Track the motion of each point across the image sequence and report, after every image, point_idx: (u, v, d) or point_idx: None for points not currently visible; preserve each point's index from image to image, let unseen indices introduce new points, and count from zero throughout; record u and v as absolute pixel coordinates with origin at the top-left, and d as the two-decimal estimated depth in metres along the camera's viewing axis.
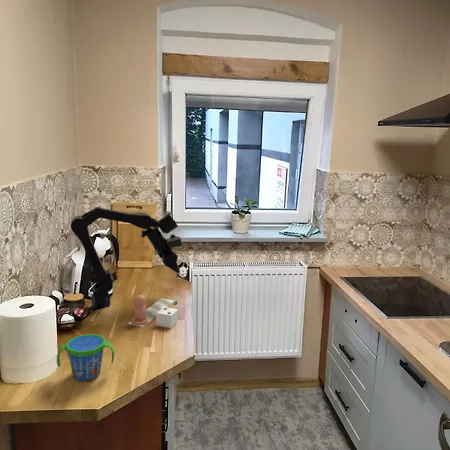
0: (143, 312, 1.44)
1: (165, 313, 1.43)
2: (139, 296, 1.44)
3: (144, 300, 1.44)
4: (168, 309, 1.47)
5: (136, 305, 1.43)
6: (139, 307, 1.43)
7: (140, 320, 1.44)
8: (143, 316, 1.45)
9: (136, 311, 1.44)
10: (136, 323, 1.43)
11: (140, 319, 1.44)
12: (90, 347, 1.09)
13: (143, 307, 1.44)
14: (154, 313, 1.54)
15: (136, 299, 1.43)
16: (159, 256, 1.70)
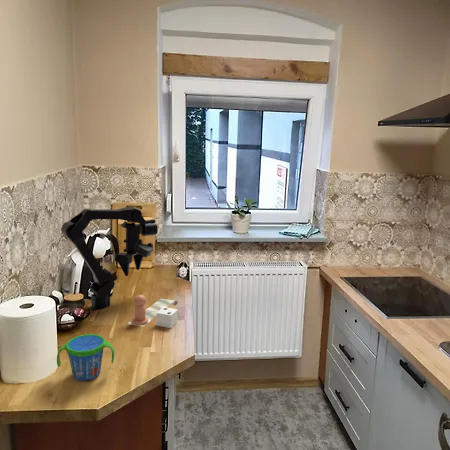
0: (143, 312, 1.44)
1: (165, 313, 1.43)
2: (139, 296, 1.44)
3: (144, 300, 1.44)
4: (168, 309, 1.47)
5: (136, 305, 1.43)
6: (139, 307, 1.43)
7: (140, 320, 1.44)
8: (143, 316, 1.45)
9: (136, 311, 1.44)
10: (136, 323, 1.43)
11: (140, 319, 1.44)
12: (90, 347, 1.09)
13: (143, 307, 1.44)
14: (154, 313, 1.54)
15: (136, 299, 1.43)
16: None
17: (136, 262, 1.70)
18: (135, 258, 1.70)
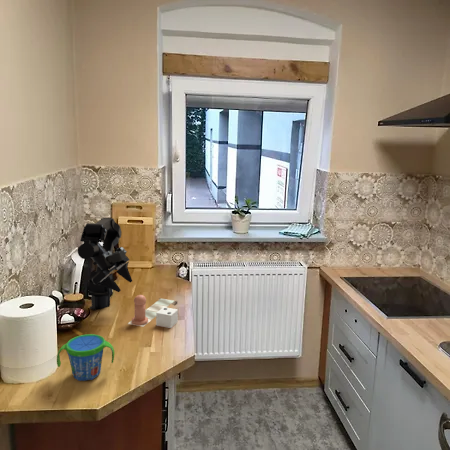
0: (143, 312, 1.44)
1: (165, 313, 1.43)
2: (139, 296, 1.44)
3: (144, 300, 1.44)
4: (168, 309, 1.47)
5: (136, 305, 1.43)
6: (139, 307, 1.43)
7: (140, 320, 1.44)
8: (143, 316, 1.45)
9: (136, 311, 1.44)
10: (136, 323, 1.43)
11: (140, 319, 1.44)
12: (90, 347, 1.09)
13: (143, 307, 1.44)
14: (154, 313, 1.54)
15: (136, 299, 1.43)
16: (117, 270, 1.55)
17: (124, 276, 1.52)
18: (121, 273, 1.53)
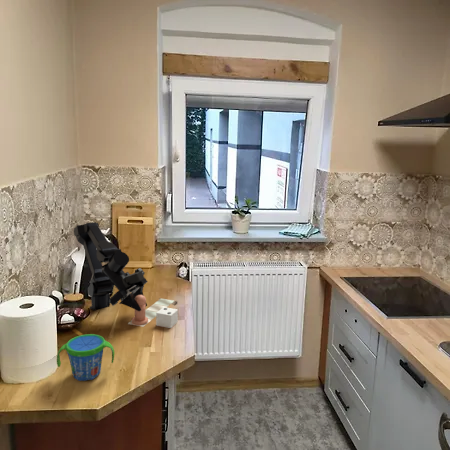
0: (143, 312, 1.44)
1: (165, 313, 1.43)
2: (139, 296, 1.44)
3: (144, 300, 1.44)
4: (168, 309, 1.47)
5: None
6: None
7: (140, 320, 1.44)
8: (143, 316, 1.45)
9: (136, 311, 1.44)
10: (136, 323, 1.43)
11: (140, 319, 1.44)
12: (90, 347, 1.09)
13: (143, 307, 1.44)
14: (154, 313, 1.54)
15: (136, 299, 1.43)
16: None
17: None
18: None
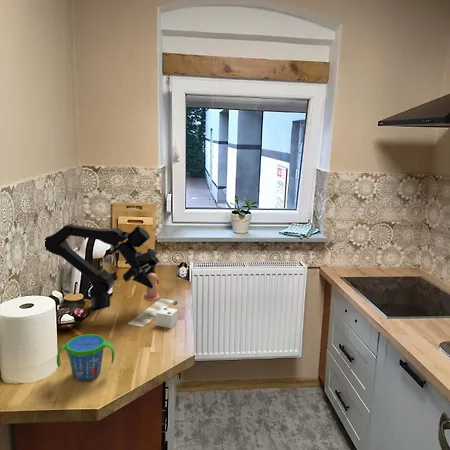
0: (155, 289, 1.52)
1: (165, 313, 1.43)
2: (151, 274, 1.51)
3: (156, 278, 1.51)
4: (168, 309, 1.47)
5: None
6: None
7: (152, 297, 1.51)
8: (154, 293, 1.52)
9: (148, 288, 1.51)
10: (148, 299, 1.51)
11: (152, 296, 1.51)
12: (90, 347, 1.09)
13: (155, 284, 1.51)
14: (154, 313, 1.54)
15: (148, 277, 1.50)
16: None
17: None
18: None
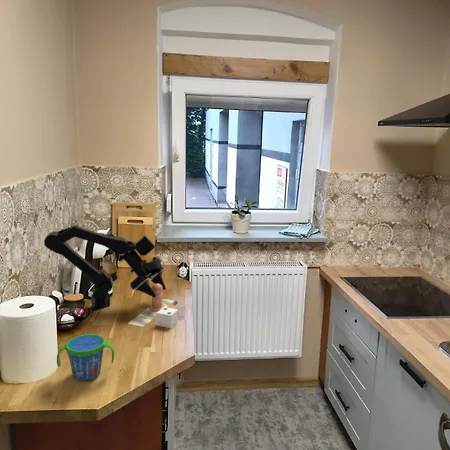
0: (160, 299, 1.57)
1: (165, 313, 1.43)
2: (156, 284, 1.57)
3: (161, 288, 1.57)
4: (168, 309, 1.47)
5: None
6: (156, 294, 1.56)
7: (157, 307, 1.57)
8: (160, 303, 1.58)
9: (153, 298, 1.57)
10: (154, 309, 1.56)
11: (157, 306, 1.57)
12: (90, 347, 1.09)
13: (160, 295, 1.57)
14: (154, 313, 1.54)
15: (154, 287, 1.56)
16: (152, 279, 1.65)
17: None
18: (156, 282, 1.63)
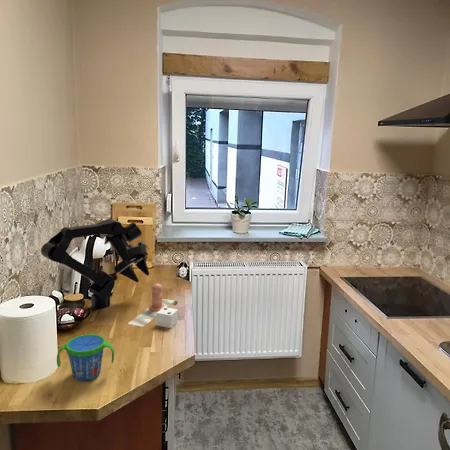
0: (160, 299, 1.57)
1: (165, 313, 1.43)
2: (156, 284, 1.57)
3: (161, 288, 1.57)
4: (168, 309, 1.47)
5: (154, 293, 1.56)
6: (156, 294, 1.56)
7: (157, 307, 1.57)
8: (160, 303, 1.58)
9: (153, 298, 1.57)
10: (154, 309, 1.56)
11: (157, 306, 1.57)
12: (90, 347, 1.09)
13: (160, 295, 1.57)
14: (154, 313, 1.54)
15: (154, 287, 1.56)
16: (136, 264, 1.67)
17: (143, 269, 1.64)
18: (140, 266, 1.65)
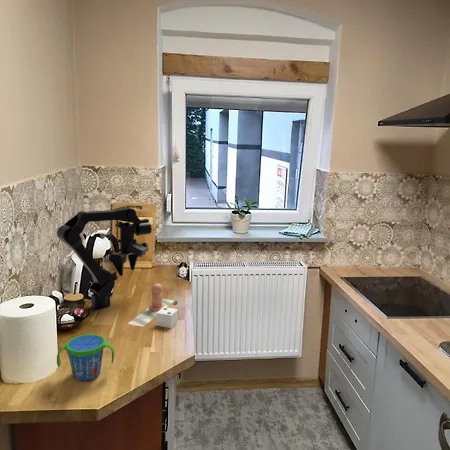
0: (160, 299, 1.57)
1: (165, 313, 1.43)
2: (156, 284, 1.57)
3: (161, 288, 1.57)
4: (168, 309, 1.47)
5: (154, 293, 1.56)
6: (156, 294, 1.56)
7: (157, 307, 1.57)
8: (160, 303, 1.58)
9: (153, 298, 1.57)
10: (154, 309, 1.56)
11: (157, 306, 1.57)
12: (90, 347, 1.09)
13: (160, 295, 1.57)
14: (154, 313, 1.54)
15: (154, 287, 1.56)
16: None
17: (131, 262, 1.69)
18: (130, 258, 1.69)
